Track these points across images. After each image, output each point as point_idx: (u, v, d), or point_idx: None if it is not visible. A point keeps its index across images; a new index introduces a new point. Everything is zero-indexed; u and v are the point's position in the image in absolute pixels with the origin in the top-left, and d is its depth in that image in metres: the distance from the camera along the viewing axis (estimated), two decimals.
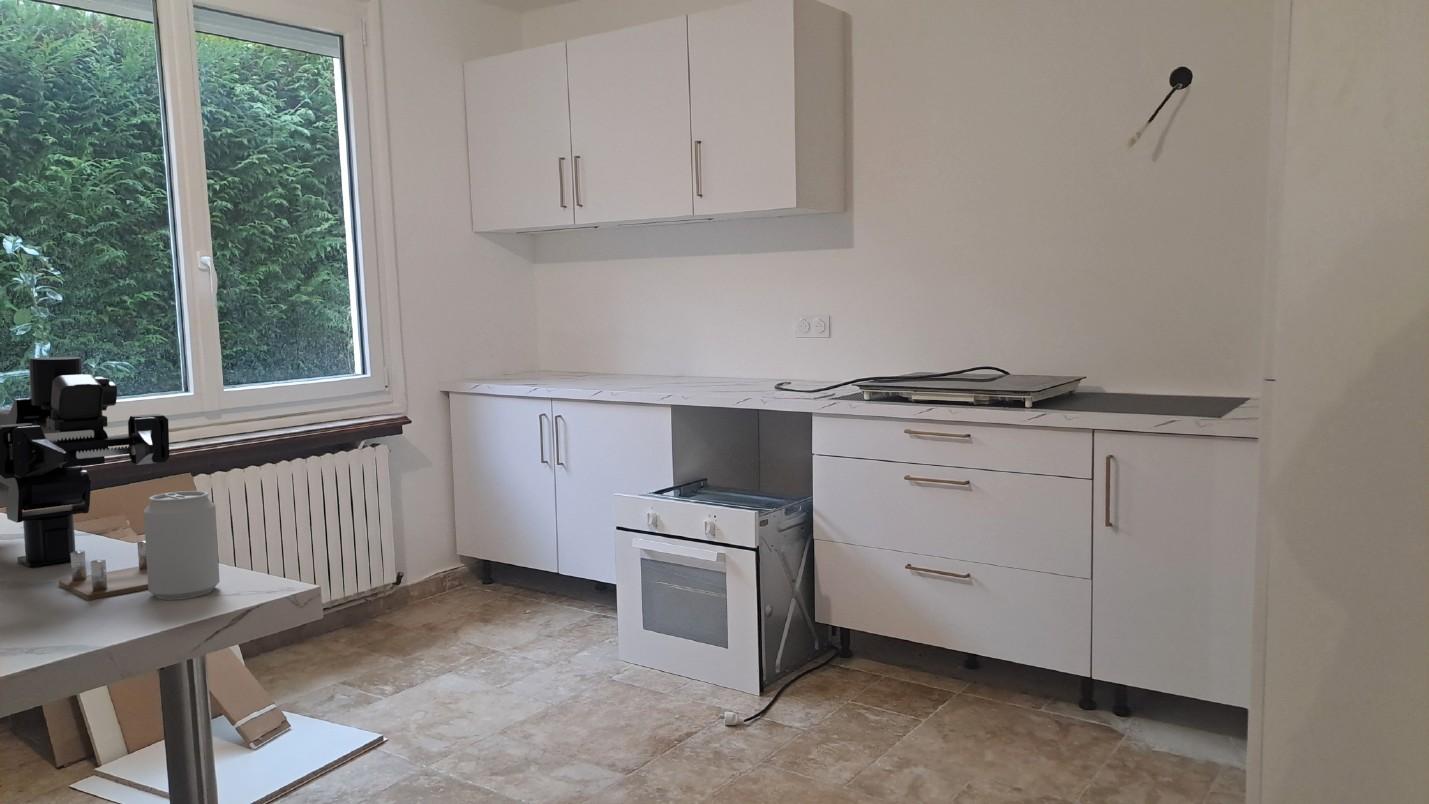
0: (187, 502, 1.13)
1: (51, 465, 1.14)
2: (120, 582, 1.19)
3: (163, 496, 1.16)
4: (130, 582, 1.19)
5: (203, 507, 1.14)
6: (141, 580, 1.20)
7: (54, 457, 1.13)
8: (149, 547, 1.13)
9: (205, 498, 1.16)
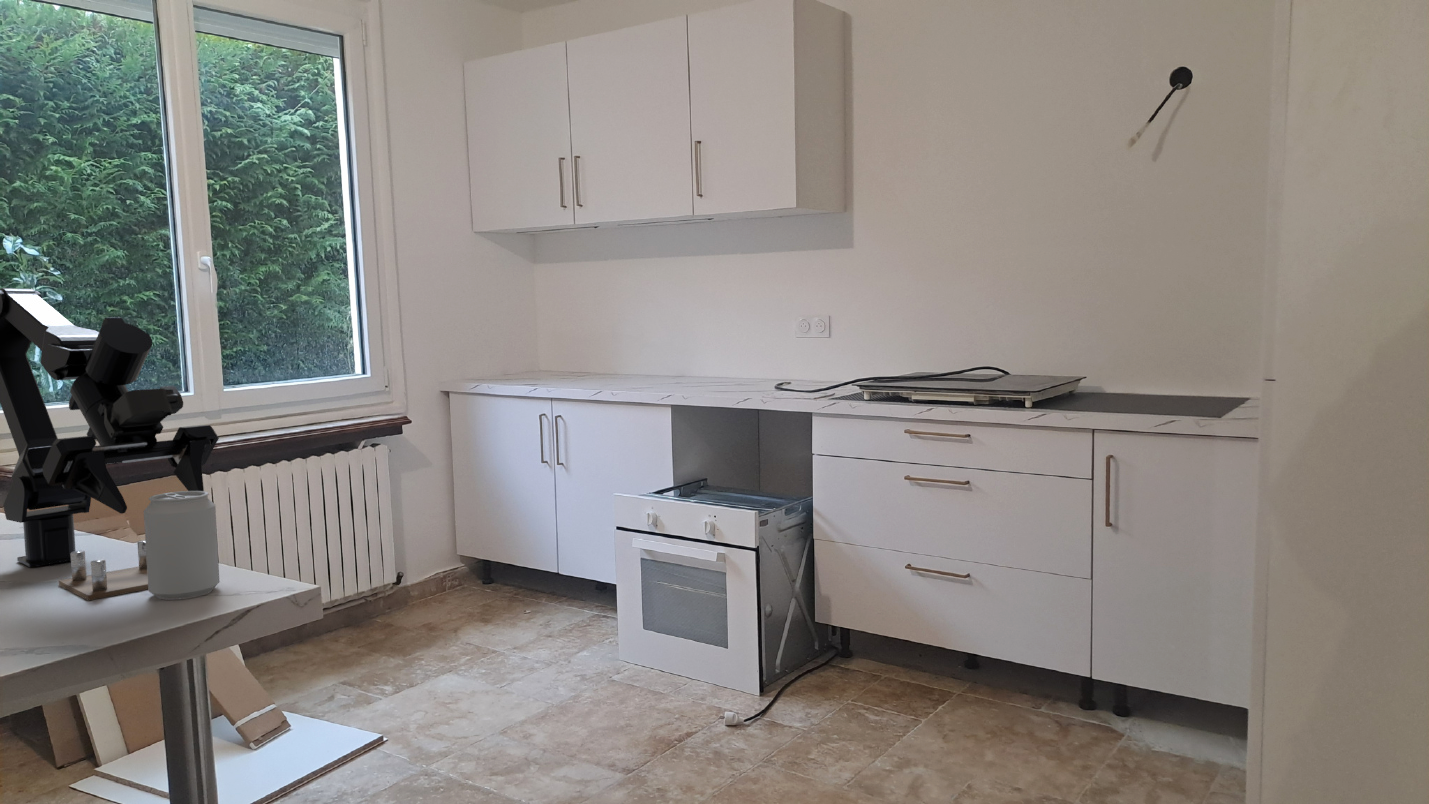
0: (187, 502, 1.13)
1: (106, 504, 1.14)
2: (120, 582, 1.19)
3: (163, 496, 1.16)
4: (130, 582, 1.19)
5: (203, 507, 1.14)
6: (141, 580, 1.20)
7: (112, 502, 1.13)
8: (149, 547, 1.13)
9: (205, 498, 1.16)
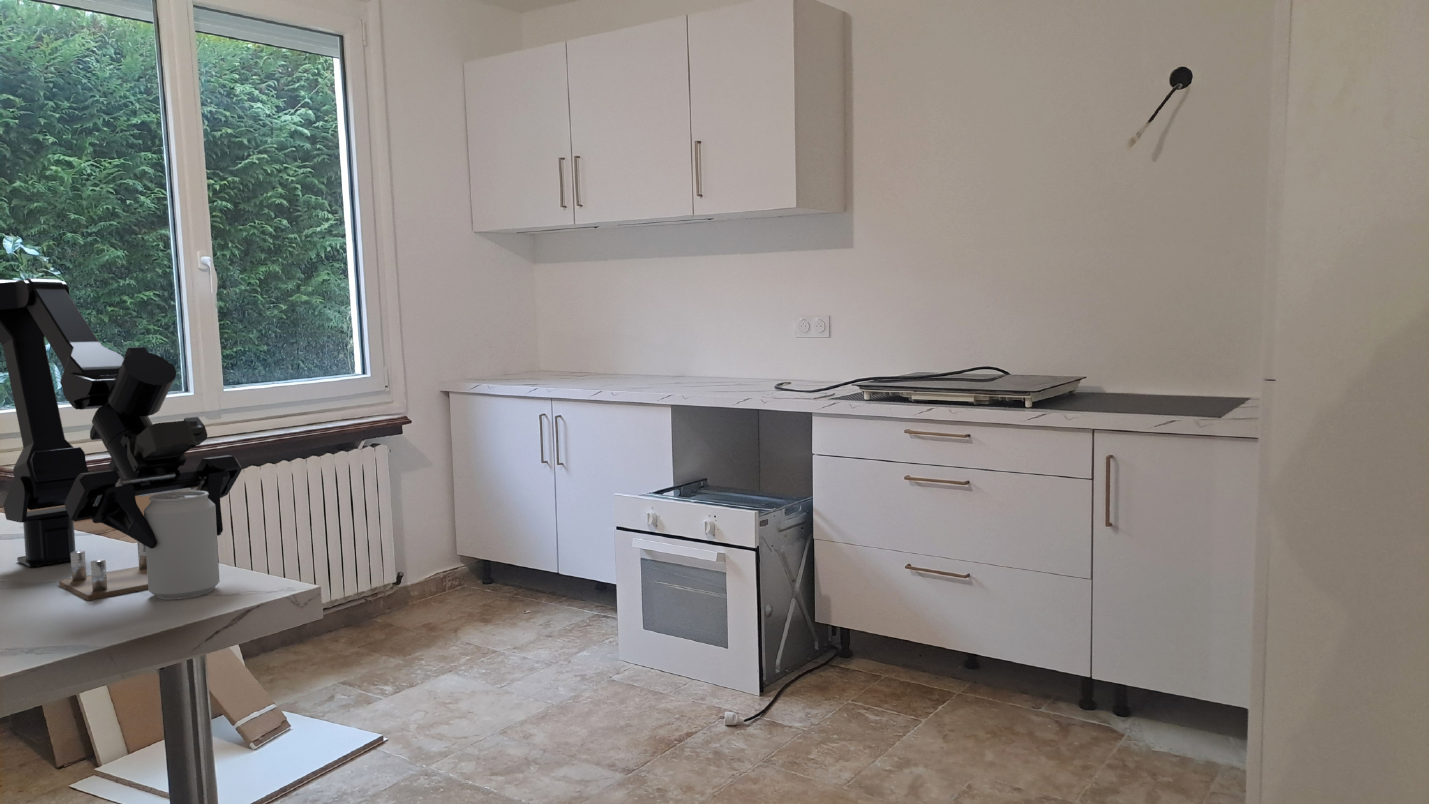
0: (187, 501, 1.13)
1: (135, 539, 1.12)
2: (120, 582, 1.19)
3: (163, 496, 1.16)
4: (130, 582, 1.19)
5: (203, 507, 1.14)
6: (141, 580, 1.20)
7: (142, 537, 1.12)
8: None
9: (205, 498, 1.16)
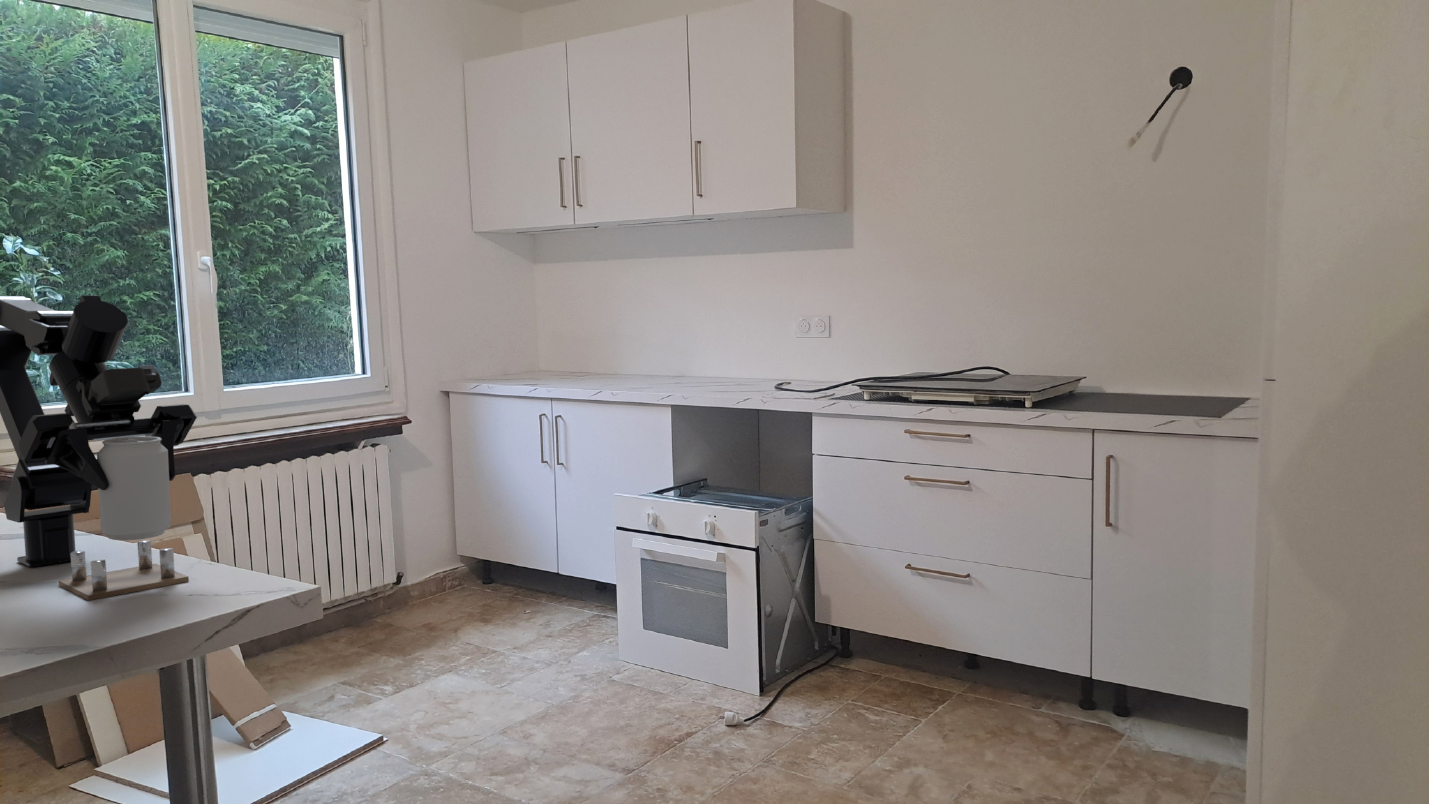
0: (139, 446, 1.16)
1: (88, 480, 1.15)
2: (120, 582, 1.19)
3: (117, 440, 1.20)
4: (130, 582, 1.19)
5: (155, 451, 1.18)
6: (141, 580, 1.20)
7: (94, 479, 1.15)
8: None
9: (157, 443, 1.19)
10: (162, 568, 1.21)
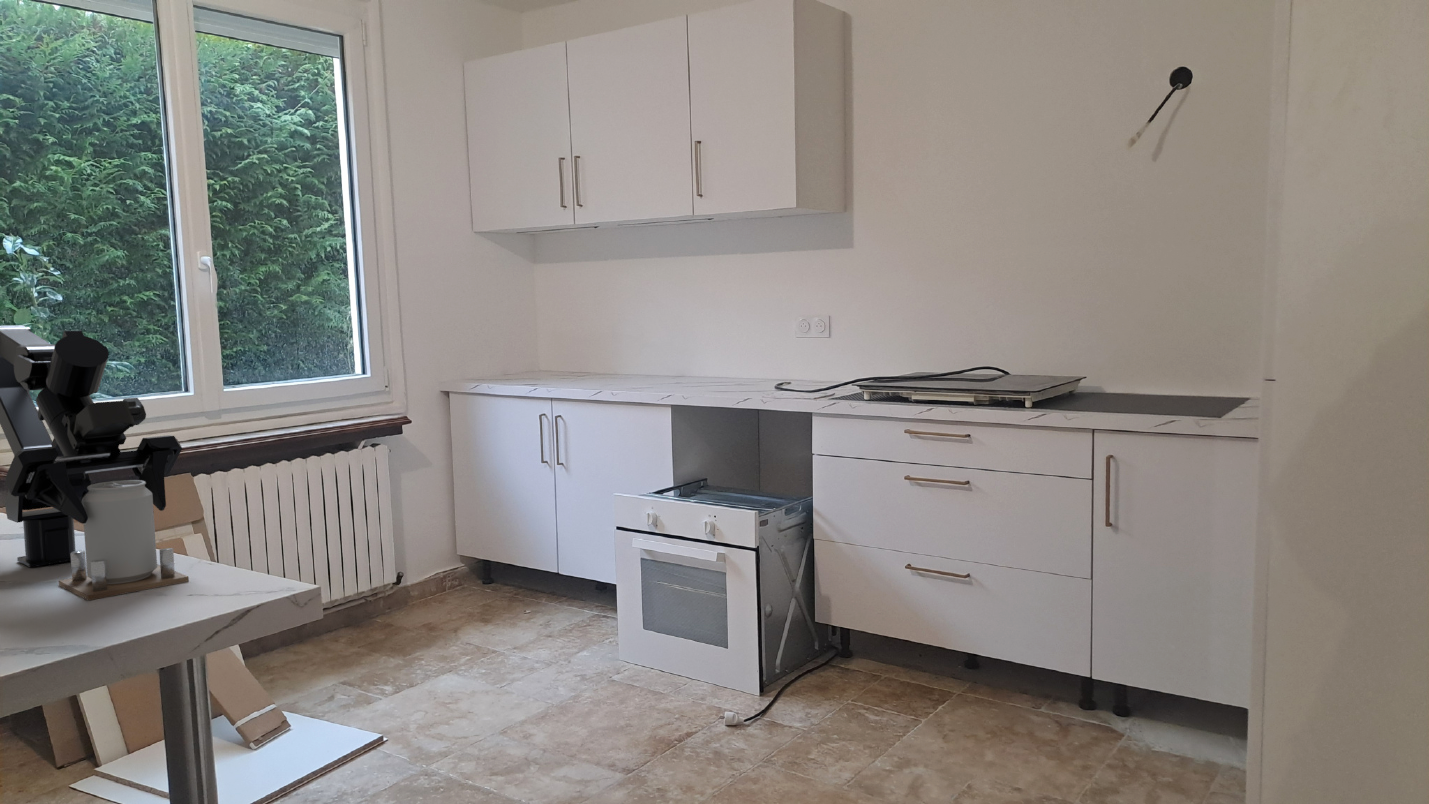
0: (123, 490, 1.18)
1: (67, 514, 1.16)
2: None
3: (102, 485, 1.21)
4: (130, 582, 1.19)
5: (139, 495, 1.19)
6: (141, 580, 1.20)
7: (73, 512, 1.16)
8: (87, 534, 1.18)
9: (142, 487, 1.21)
10: (162, 568, 1.21)
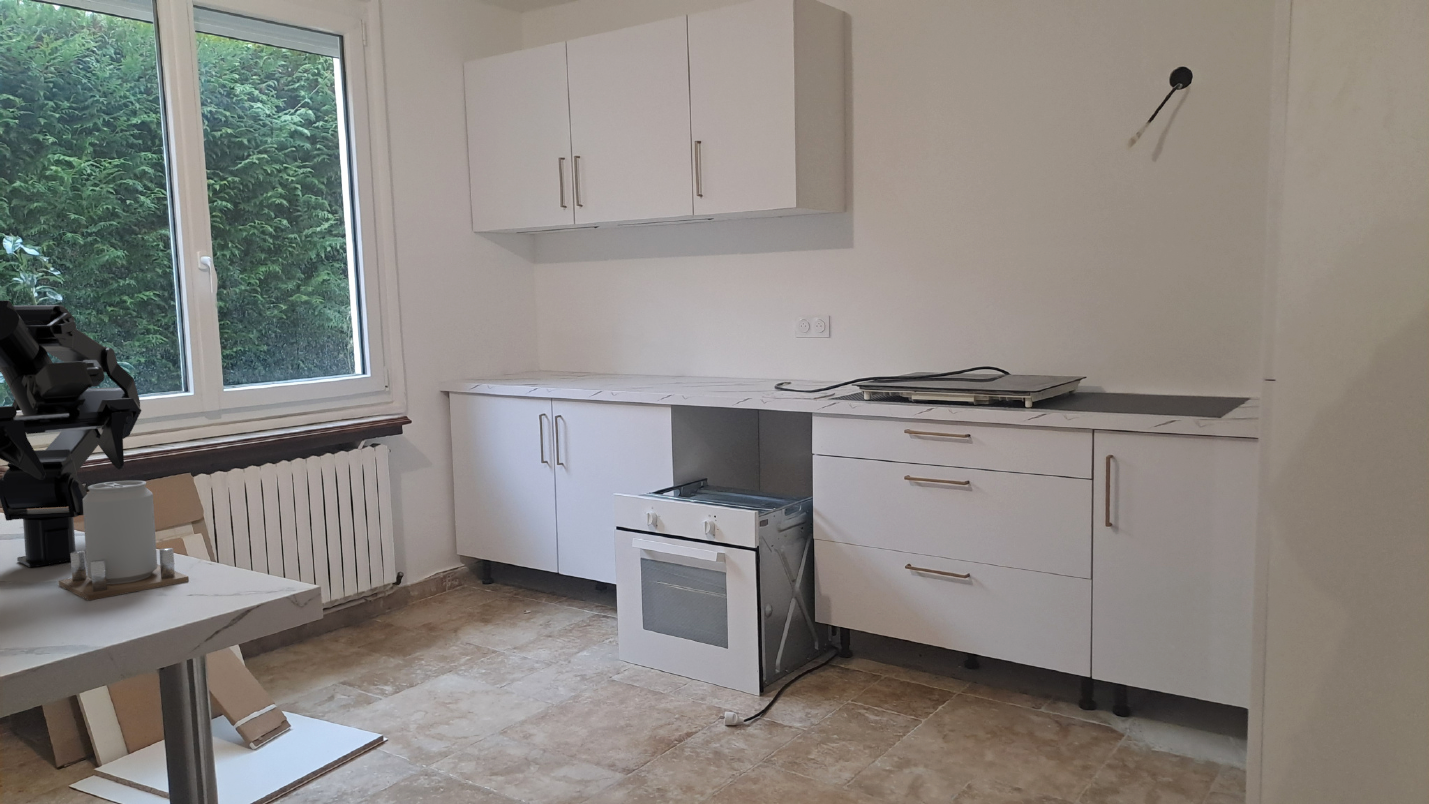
0: (124, 490, 1.18)
1: (25, 470, 1.20)
2: None
3: (102, 485, 1.21)
4: (130, 582, 1.19)
5: (140, 495, 1.19)
6: (141, 580, 1.20)
7: (31, 468, 1.19)
8: (87, 534, 1.18)
9: (142, 487, 1.21)
10: (162, 568, 1.21)
